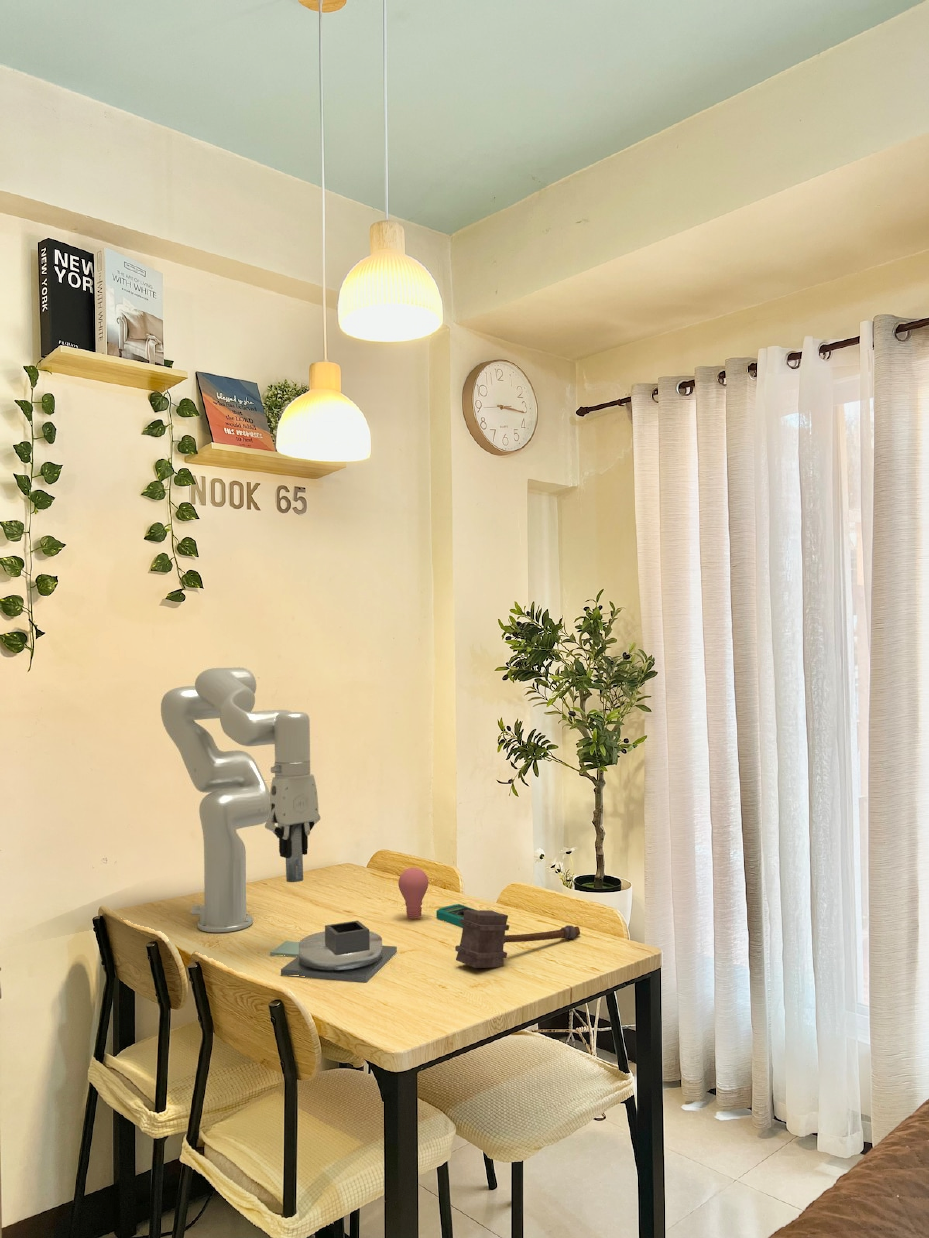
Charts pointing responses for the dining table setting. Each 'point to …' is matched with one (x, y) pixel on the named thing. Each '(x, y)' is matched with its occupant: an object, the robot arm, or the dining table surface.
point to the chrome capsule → (295, 855)
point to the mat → (287, 949)
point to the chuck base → (346, 975)
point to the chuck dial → (340, 947)
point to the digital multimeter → (452, 914)
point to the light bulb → (413, 890)
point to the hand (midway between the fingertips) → (293, 854)
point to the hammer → (495, 938)
